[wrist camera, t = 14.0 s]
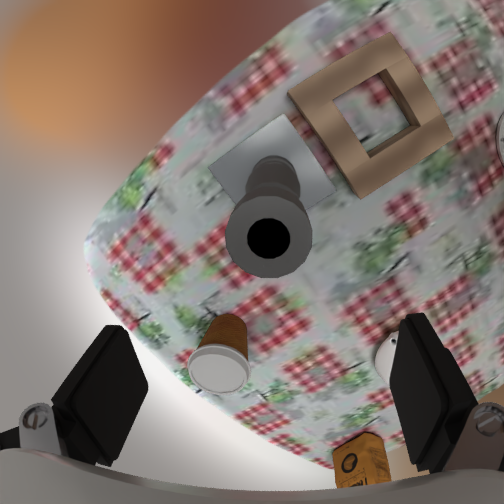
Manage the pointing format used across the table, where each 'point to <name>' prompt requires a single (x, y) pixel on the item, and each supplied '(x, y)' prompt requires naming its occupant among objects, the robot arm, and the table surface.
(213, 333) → the disposable coffee cup
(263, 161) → the candle holder
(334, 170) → the table surface
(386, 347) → the teapot
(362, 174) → the socket block
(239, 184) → the metal tile
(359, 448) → the coffee package
